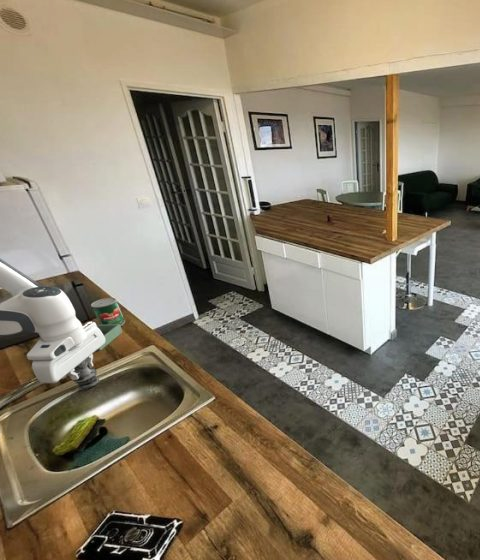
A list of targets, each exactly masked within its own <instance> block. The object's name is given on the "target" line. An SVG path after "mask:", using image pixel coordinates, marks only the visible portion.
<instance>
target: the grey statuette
mask: <svg viewBox="0 0 480 560" xmlns="http://www.w3.org/2000/svg"><path fill="white" fill-rule="evenodd" d="M87 364H88V363H87V362H85V361H84V360H83V361H82V362H81V363H80V364H79V365H77V366H76V367H75V368H74V370H75V371H74V372H76V373H77V372H80V375H81V377H80V378H79V379H77V380H72V379H71V381H72V382H74V383H75V384H77V389H78V390H81V391H83V390H88V389H91V388H93V387H95V386H96V385H98V384H99V382H100V379H101V378H100V377H97V373H98V370H97V369H95V368H90V369H89V368H88V366H87Z"/></svg>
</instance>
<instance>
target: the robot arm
mask: <svg viewBox="0 0 480 560" xmlns="http://www.w3.org/2000/svg"><path fill="white" fill-rule="evenodd" d="M0 289H2V290H4V291H5V292H7V293H9V294H10V295H11V296H12V297H10V298H8V299H6V300H4V301H2V302H0V338H3V339H5V338H6V339H14V338H19V337H24V336H28V335H31V334H34V333H35V334H36V333H37V334H38V335H39V339H38V340H37V341H36V343H35V344H34V346H33V347H32V348H31V349H30V350H29V351H28V352H27V354H26V358H27V360H29V361H32V363H31V369H32V372H33V374H34V376H35V378H36V379H37V381H38V382H39V383H40V384H41V383H42V384H56V383H58V382H59V381H60V380H61V379H62V378H64V377H65V376H69V377H70V379H71V381H72V380H77V379H79V378H80V377H81V375H80V372H77V373H76V372H75V370H74V368H75V367H76V366H77V365H79V364H80V363H81V362H82V361H83V360H84V361H85V362H87V363H88V364H87V366H88V368H89V369H92V368H93V367H94V366H95V365H94V363H93V359H94V354H93V353H95V352H96V350H97V349H98V348H100V347H101V346H102V345H103V344H105V340H106V339H105V337H104V335H103V333H102V332H101V331H100V329H99V328H98V327H97V325H98V324H97V323H96V322H94V321H92V320H91V321H86V322H85V323H84V324H82V322H81V321H80V320H79V319H78V318H77V316H76V310H75V307H74V306H73V304H72V302H71V300H70V298H69V296H68V295H67V294H66V293H65V292H64V291H63V290H62V289H60V288H59V287H57V286H52V285H51V286H50V285H45V284H42V283H40V282H38V281H36V280H34V279H33V278H31V277H30V276H29V275H26V274H25V273H24V272H22V271H20V270H19V269H18V268H16V267H14V266H12V265H11V264H10V263H8V262H6V261H5V260H3V259H2V258H0ZM97 351H98V350H97Z"/></svg>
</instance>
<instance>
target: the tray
mask: <svg viewBox="0 0 480 560" xmlns="http://www.w3.org/2000/svg"><path fill="white" fill-rule="evenodd" d="M96 325H97V327H98V328H99V329H100V331H101V332H102V333H103V335H104V337H105V339H106V340H105V344H103V345H102V346H101V347H100V348H98V349H97V350H96V351H102V350H103V349H105V348H106V347H107V346H108V345H109V344H111V342H113V340H115V339H116V338H117V337H119V336H120V335H121V334H122V333H123V328H122V327H121V326H122V325H121V326H120V324H109V325H100V324H96ZM96 351H95V352H96Z"/></svg>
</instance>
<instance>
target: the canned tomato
mask: <svg viewBox="0 0 480 560" xmlns="http://www.w3.org/2000/svg"><path fill="white" fill-rule="evenodd" d="M90 307H91V308H92V310H93V314H94V315H95V317H96V319H97V321H98V324H99V325H109V324H120V326H123V325H124V324H125V323H126V320H125V318H124V317H125V316H124V315H123V313H122V310H121V308H120V306H119V303H118V301H117V299H116V298H115V297H104V298H100V299H98V300H95V301H93V302H92V303H91V304H90Z"/></svg>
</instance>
